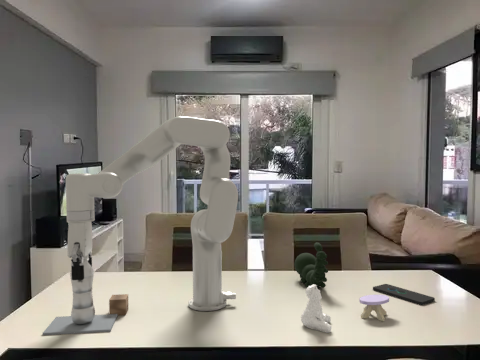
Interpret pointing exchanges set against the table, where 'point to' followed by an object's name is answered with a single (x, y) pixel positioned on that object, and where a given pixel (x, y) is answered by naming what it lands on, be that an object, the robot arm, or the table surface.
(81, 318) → the plastic bottle
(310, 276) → the toy figurine
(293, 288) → the table surface
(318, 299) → the seated beast figurine
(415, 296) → the smart home device
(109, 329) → the slate mat
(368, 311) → the toy table
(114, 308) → the walnut block
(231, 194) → the robot arm
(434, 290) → the table surface
